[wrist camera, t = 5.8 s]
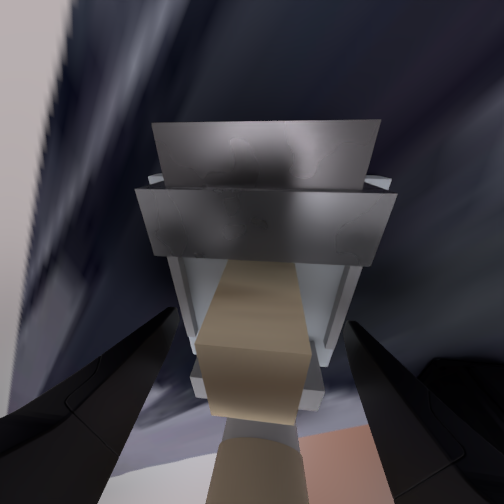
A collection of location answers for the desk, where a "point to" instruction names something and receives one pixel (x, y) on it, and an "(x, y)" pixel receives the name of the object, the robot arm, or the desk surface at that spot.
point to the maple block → (255, 343)
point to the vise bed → (312, 294)
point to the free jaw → (266, 192)
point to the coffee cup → (258, 465)
